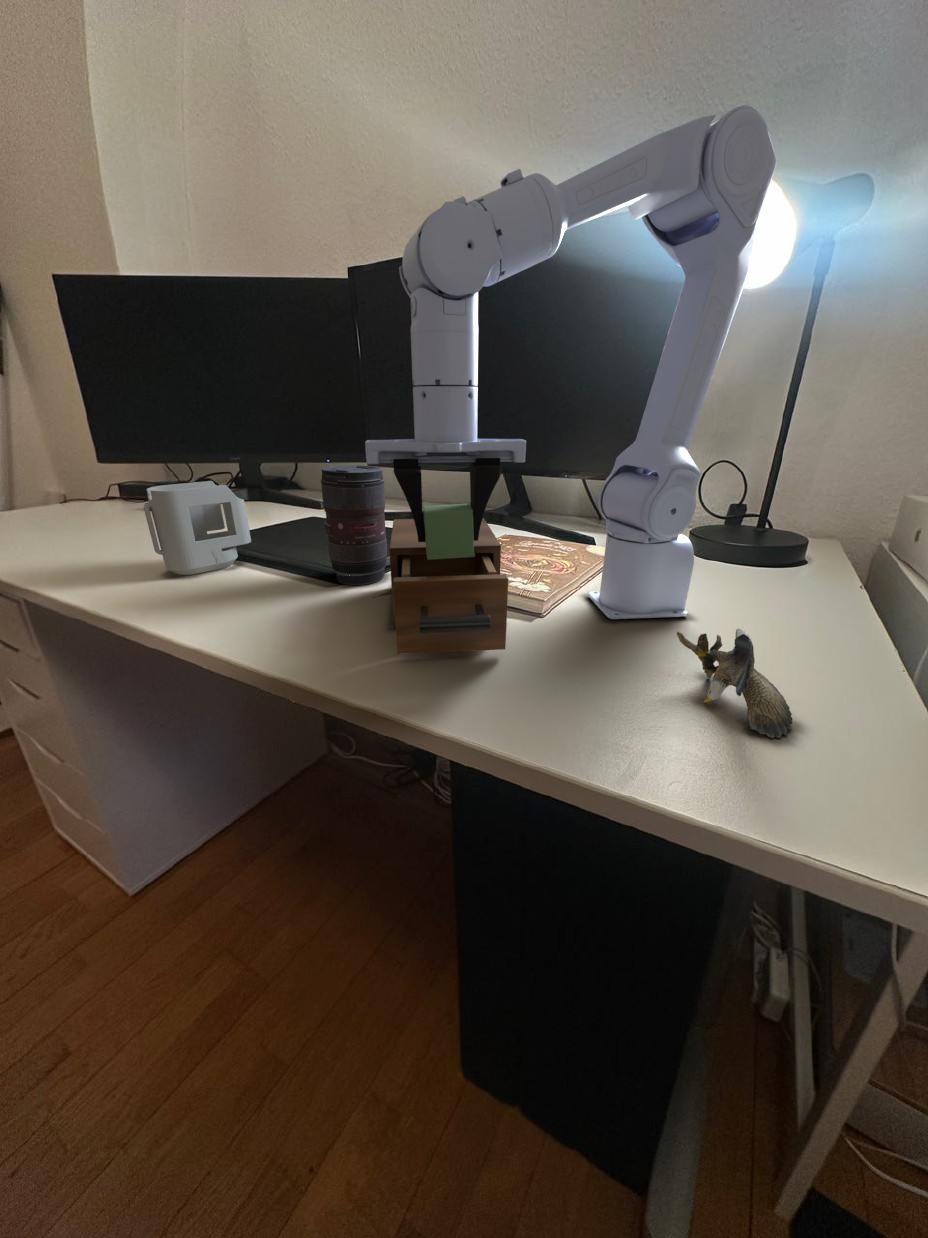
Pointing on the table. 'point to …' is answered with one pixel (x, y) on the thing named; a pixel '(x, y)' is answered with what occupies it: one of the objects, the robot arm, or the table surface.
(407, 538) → the cabinet
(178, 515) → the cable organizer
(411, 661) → the table surface
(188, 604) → the table surface
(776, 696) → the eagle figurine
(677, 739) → the table surface
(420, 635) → the drawer
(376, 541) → the camera lens
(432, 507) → the block
